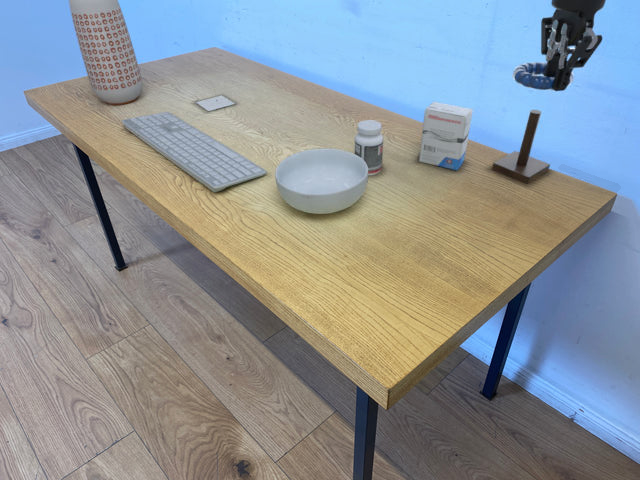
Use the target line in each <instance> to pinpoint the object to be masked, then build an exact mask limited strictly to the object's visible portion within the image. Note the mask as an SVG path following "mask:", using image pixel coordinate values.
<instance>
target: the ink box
mask: <svg viewBox="0 0 640 480" xmlns="http://www.w3.org/2000/svg"><path fill="white" fill-rule="evenodd" d="M473 111H474V109H473V108H469V107H463V106H457V105H453V104H447V103H441V102H437V101H433V102H432V103H430V104H429V105H428V106H427V107H426V108H425V109H424V113H423V114H424V115H423V123H422V132H421V133H422V134H421V140H420V149H419V157H418V160H419V163H423V164H427V165H433V166H438V167H441V168H445V169H449V170H454V171H458V170H459V169H460V168H461V167H462V165H463V163H464V162H465V157H466V152H467V146H468V142H469V141H468V139H469V134H470V129H471V123H472V117H473V113H474V112H473Z"/></svg>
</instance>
